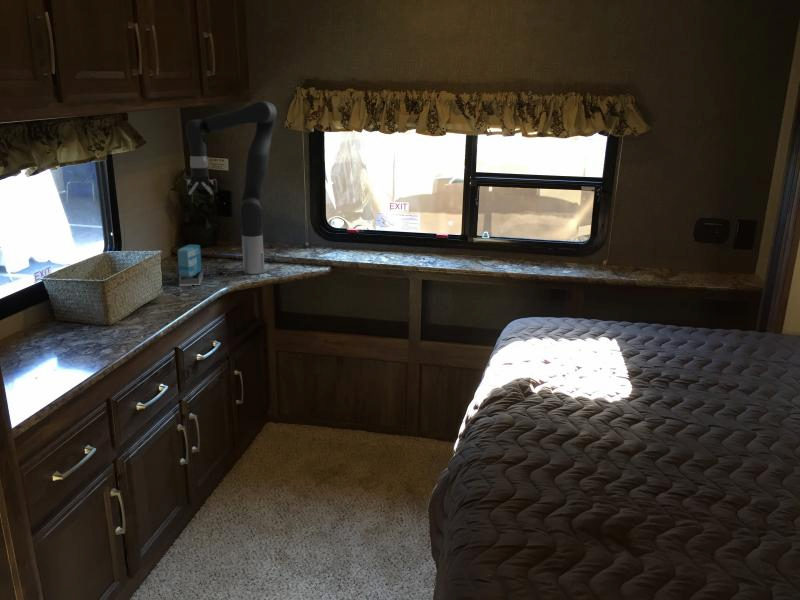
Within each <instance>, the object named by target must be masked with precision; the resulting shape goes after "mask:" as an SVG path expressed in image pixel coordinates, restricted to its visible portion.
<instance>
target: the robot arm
mask: <svg viewBox="0 0 800 600" xmlns="http://www.w3.org/2000/svg"><path fill="white" fill-rule="evenodd" d="M277 111H278V110H277V108H276V106H275V105H274V104H273V103H272V102H270V101H266V100H259V101H257V102H254V103H251V104H250V105H248V106H245V107H243V108H241V109H237V110H232V111H228V112H227V111H226V112H223V113H218V114H213V115H211V116H208V117H203V118H197V119H192V120H189V121H187V123H186V125H185V135H186V138H187V143H188V145H189V155H190V157H189V158H190V159H189V166H190V179H186V178H185V179H184V181H183V191H184V194H187V195H188V201H189V202H190V204H194V196H193V192H194V191H195V190H206V191H207V192H208V193H209V195H210V196H209V197H210V199H209V201H210V204H212V203H213V202H214V201H215V195H214V194H217V193H218V190H219V189H218V183H217V179H216V178H214V179H210V176H209V175H210V174H209V161H208V155H207V145H206V143H205V142H203V136H206V135H208V134H209V135H210V134H212V133H217V132H218V133H219V132H223V131H226V130H229V129H233V128H235V127H238V126H242V125H245V124H255V123H256V127H255V134H254V137H253V139H252V141H251V144H250V145H249V148H248V150H247V151H248V152H247V155H246V165H245V179H244V180H245V181H244V182H245V183H244V190H243V193H242V198H241V202H240V205H239V209H240V210H239V211H240V219H241V248H242V262H243V264H242V265H243V267H242V269H243V273H244V274H248V275H257V274H258V275H259V274H264V273H265V254H264V253H265V250H264V233H263V230H264V221H263V219H264V218H263V217H264V216H263V207H262V204H261V198H262V197H261V195H262V188H263V184H264V182H265V178H266V176H267V172H268V168H269V161H270V152H271V145H272V136H273V131H274V127H275V124H276V120H277V114H278V112H277ZM190 183H191V185H192V187H191V189H189V190H188V188H189V187H188V185H189V184H190ZM210 183H211V185H212V186H213V190H212V188H211V187H210V186H209V185H210Z"/></svg>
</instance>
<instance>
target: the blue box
mask: <svg viewBox="0 0 800 600" xmlns="http://www.w3.org/2000/svg"><path fill="white" fill-rule="evenodd" d="M201 253H202V251H201V245H199V244H192V243H191V244H190V243H189V244H187V245H185V246H183V247H181V248H179V249H178V250H177V261H178V262H177V264H178V272H179V273H178V274H179V277H180V276H181V277H192V276H194V275H195V274H197V273H199V272H201V270H202V265H203V264H202V254H201Z"/></svg>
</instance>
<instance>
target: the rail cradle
mask: <svg viewBox="0 0 800 600" xmlns="http://www.w3.org/2000/svg"><path fill="white" fill-rule="evenodd" d="M201 265H202V270H201V272H199V273H197V274H195V275H194V276H192V277H181V276H180V275H179V278H178V286H179V287H193V286H192V285H195V286H194V287H197V286H196V285H200V286H201V283H202V281H203V278H204V264H201ZM201 280H202V281H201Z"/></svg>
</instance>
